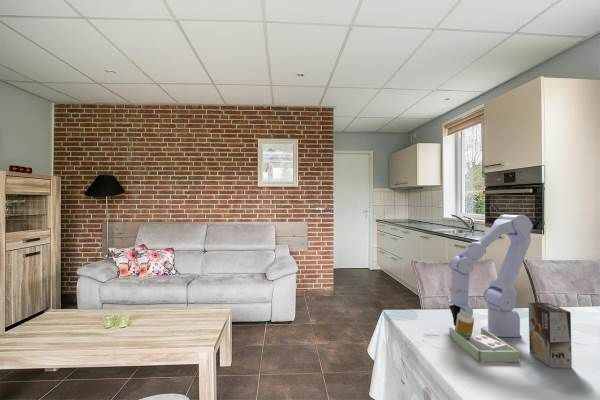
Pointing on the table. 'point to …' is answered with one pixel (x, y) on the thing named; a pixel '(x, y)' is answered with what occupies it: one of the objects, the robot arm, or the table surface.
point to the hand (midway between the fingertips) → (457, 326)
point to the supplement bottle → (464, 323)
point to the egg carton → (487, 343)
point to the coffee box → (550, 334)
